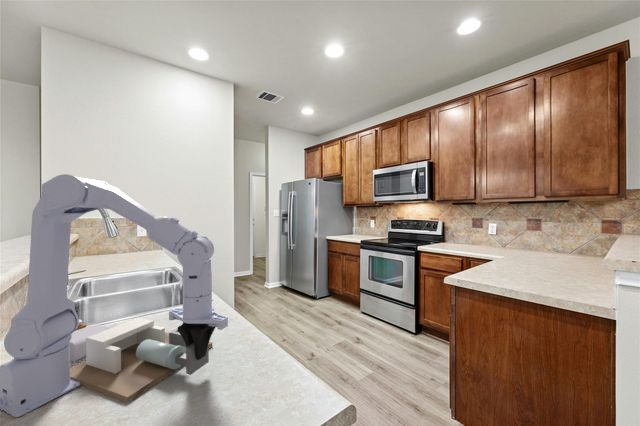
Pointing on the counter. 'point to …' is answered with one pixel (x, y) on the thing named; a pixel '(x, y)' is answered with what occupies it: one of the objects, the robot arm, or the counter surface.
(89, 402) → the counter surface
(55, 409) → the counter surface
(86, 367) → the mounting board
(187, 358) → the grey and blue plunger
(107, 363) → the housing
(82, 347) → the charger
